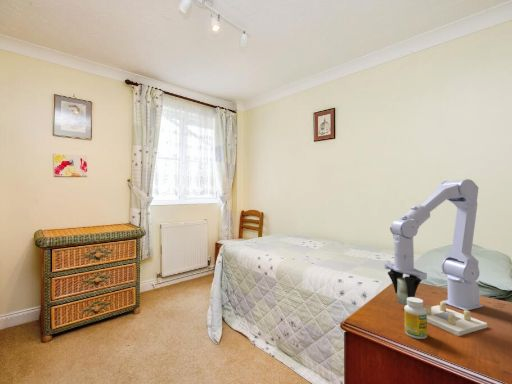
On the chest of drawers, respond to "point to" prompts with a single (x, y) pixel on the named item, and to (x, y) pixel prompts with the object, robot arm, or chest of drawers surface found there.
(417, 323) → the supplement bottle
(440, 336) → the chest of drawers surface
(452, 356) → the chest of drawers surface
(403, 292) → the peg
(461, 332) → the base plate
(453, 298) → the robot arm
